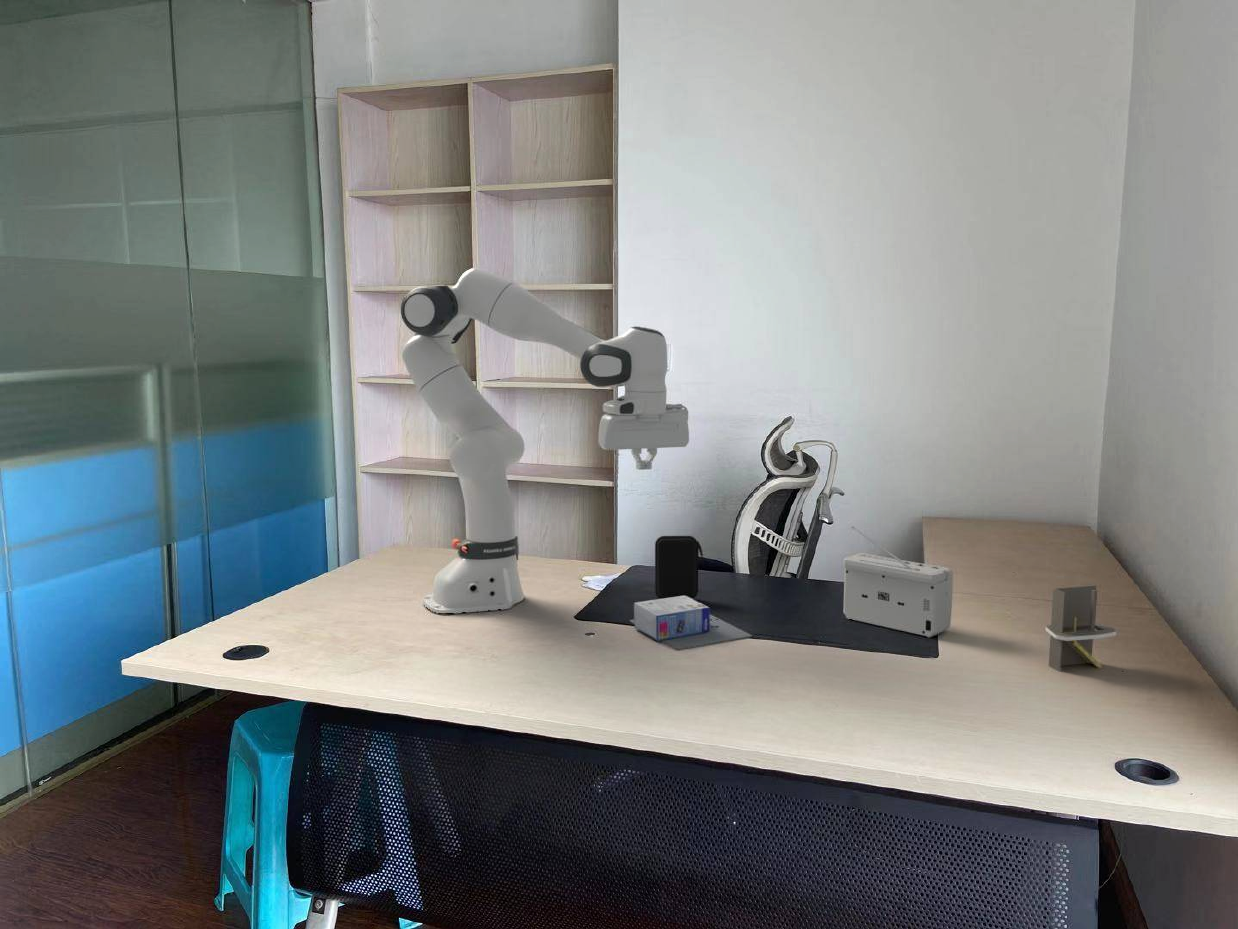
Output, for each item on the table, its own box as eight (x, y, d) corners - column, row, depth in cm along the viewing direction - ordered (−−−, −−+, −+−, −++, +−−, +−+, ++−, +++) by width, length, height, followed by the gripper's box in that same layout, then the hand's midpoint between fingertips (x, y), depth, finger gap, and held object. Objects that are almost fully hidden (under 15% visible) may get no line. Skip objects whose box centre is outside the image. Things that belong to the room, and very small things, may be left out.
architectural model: (1179, 682, 160) (1186, 599, 158) (1052, 696, 154) (1057, 610, 152) (1097, 645, 179) (1102, 571, 177) (981, 656, 173) (984, 579, 171)
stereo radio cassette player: (952, 631, 187) (956, 533, 184) (934, 641, 181) (938, 540, 178) (857, 611, 201) (860, 519, 198) (838, 619, 195) (840, 525, 192)
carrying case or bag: (701, 598, 212) (702, 534, 209) (703, 601, 208) (703, 537, 206) (654, 598, 211) (654, 534, 209) (655, 602, 208) (655, 537, 206)
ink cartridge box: (657, 643, 181) (720, 630, 187) (656, 616, 180) (720, 604, 186) (633, 628, 189) (694, 616, 196) (633, 602, 188) (694, 591, 195)
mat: (677, 650, 177) (677, 648, 177) (629, 621, 195) (629, 620, 194) (752, 637, 184) (752, 635, 184) (699, 610, 202) (699, 609, 202)
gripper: (681, 402, 205) (679, 464, 207) (595, 404, 196) (594, 469, 198) (695, 404, 199) (693, 469, 201) (608, 406, 191) (606, 473, 193)
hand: (643, 469), depth 200 cm, fingers closed
